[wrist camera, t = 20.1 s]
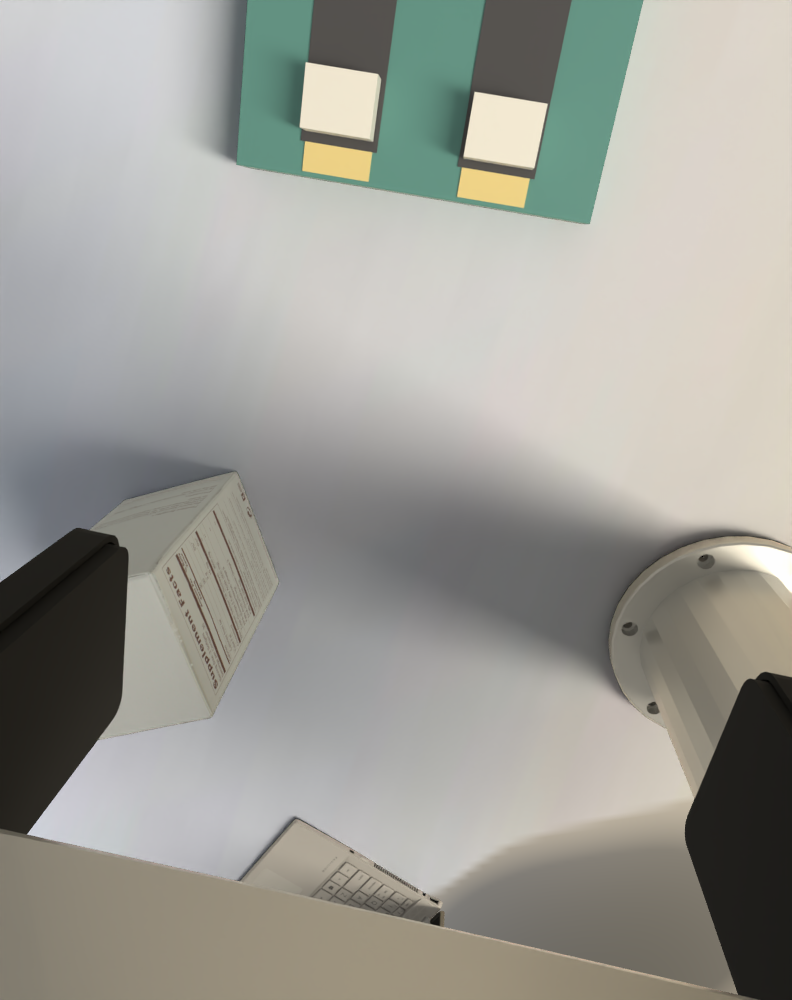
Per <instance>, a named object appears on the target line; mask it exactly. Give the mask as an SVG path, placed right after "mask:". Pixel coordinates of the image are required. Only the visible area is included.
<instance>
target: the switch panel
mask: <svg viewBox="0 0 792 1000" xmlns="http://www.w3.org/2000/svg"><path fill="white" fill-rule="evenodd" d="M642 4H643V0H248V1H247V16H246V31H245V45H244V60H243V75H242V90H241V105H240V119H239V134H238V149H237V164H236V165H240V166H244V167H248V168H253V169H259V170H265V171H271V172H277V173H283V174H288V175H294V176H300V177H306V178H312V179H318V180H324V181H330V182H336V183H342V184H348V185H354V186H360V187H366V188H372V189H378V190H383V191H389V192H395V193H401V194H407V195H413V196H419V197H425V198H431V199H437V200H443V201H449V202H455V203H461V204H467V205H473V206H479V207H484V208H490V209H496V210H502V211H508V212H514V213H520V214H526V215H532V216H538V217H544V218H550V219H556V220H562V221H568V222H574V223H579V224H590V220H591V216H592V212H593V208H594V204H595V200H596V195H597V191H598V187H599V183H600V179H601V175H602V170H603V166H604V162H605V158H606V154H607V150H608V145H609V141H610V137H611V133H612V129H613V125H614V120H615V116H616V112H617V108H618V104H619V100H620V95H621V91H622V87H623V83H624V79H625V75H626V70H627V66H628V62H629V58H630V54H631V50H632V45H633V41H634V37H635V33H636V29H637V25H638V20H639V16H640V12H641V8H642ZM306 62H307V63H313V64H320V65H326V66H332V67H338V68H344V69H350V70H356V71H362V72H368V73H374V74H378V75H379V77H380V78H381V85H380V93H379V100H378V108H377V116H376V123H375V131H374V139H373V142H370V141H364V140H358V139H352V138H346V137H340V136H334V135H328V134H322V133H316V132H310V131H305V130H303V129H302V128H300V118H301V107H302V97H303V86H304V76H305V65H306ZM475 92H479V93H485V94H491V95H497V96H503V97H510V98H516V99H522V100H528V101H534V102H540V103H546V104H548V105H547V110H546V115H545V119H544V124H543V129H542V134H541V139H540V144H539V148H538V153H537V158H536V163H535V168H534V169H533V170H528V169H522V168H516V167H510V166H504V165H498V164H492V163H486V162H480V161H474V160H468V159H464V157H463V156H464V150H465V145H466V139H467V133H468V127H469V122H470V116H471V110H472V104H473V99H474V93H475Z"/></svg>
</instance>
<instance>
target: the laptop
mask: <svg viewBox="0 0 792 1000" xmlns="http://www.w3.org/2000/svg"><path fill="white" fill-rule="evenodd" d="M374 864H375V867H374ZM376 865H377V864H376V863H374V862H373V861H371V860H369V859H368V858H366V857H365V856H363V855H361V854H360V853H358V852H356V851H355V850H353V849H351V848H349V847H347V846H346V845H344V844H342V843H340V842H338V841H337V840H335V839H333V838H331V837H329V836H328V835H326V834H324V833H322V832H320V831H319V830H317V829H315V828H313V827H311V826H310V825H308V824H306V823H304V822H302V821H300V820H298V819H295V820H294V821H293V822H292V823H291V824H290V825H289V826H288V827H287V829H286V830H285V831H284V832H283V833H282V834H281V835H280V836H279V838H278V839H277V840H276V841H275V842H274V843H273V844H272V846H271V847H270V848H269V849H268V850H267V851H266V852H265V853H264V855H263V856H262V857H261V858H260V859H259V860H258V861H257V862H256V864H255V865H254V866H253V867H252V868H251V869H250V870H249V871H248V873H247V874H246V875H245V876H244V877H243V878H242V879H241V881H240V882H245V883H249V884H254V885H258V886H263V887H267V888H272V889H276V890H281V891H285V892H290V893H294V894H299V895H303V896H308V897H312V898H317V899H321V900H325V901H330V902H334V903H339V904H343V905H348V906H352V907H357V908H361V909H365V910H370V911H374V912H379V913H383V914H388V915H392V916H397V917H401V918H406V919H410V920H414V921H419V922H423V923H428V924H432V925H436V926H441V927H444V911H440V912H438V911H439V910H440V908H441V906H442V904H443V903H442V901H441V900H439V899H437V898H436V897H434V896H432V895H431V894H430V895H427V894H426V893H425V894H424V895H423V892H422V891H421V890H419V889H417V888H415V891H414V887H413V890H412V885H411V889H410V884H409V887H408V883H407V886H406V881H405V884H404V880H403V883H401V882H402V879H401V881H400V882H399V880H400V878H399V879H398V881H397V878H398V876H397V877H396V880H395V876H396V875H395V876H394V879H393V874H392V877H391V873H390V876H389V872H388V875H387V870H386V873H385V869H384V872H382V871H383V867H382V870H381V871H380V869H381V866H380V868H379V870H378V867H379V865H378V866H377V868H376ZM416 889H417V892H416ZM437 912H438V913H437ZM436 913H437V914H436ZM435 914H436V915H435ZM434 915H435V916H434ZM433 916H434V917H433ZM432 917H433V918H432Z"/></svg>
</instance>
